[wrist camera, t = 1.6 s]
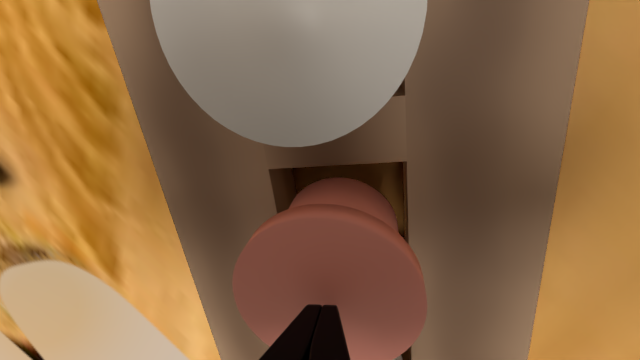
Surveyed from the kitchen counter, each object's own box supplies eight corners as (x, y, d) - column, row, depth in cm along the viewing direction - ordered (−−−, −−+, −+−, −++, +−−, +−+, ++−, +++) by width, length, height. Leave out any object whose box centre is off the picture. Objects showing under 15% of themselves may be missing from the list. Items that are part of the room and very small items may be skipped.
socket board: (561, -161, 10) (629, -234, 7) (497, 367, 19) (516, 424, 16) (133, -62, 13) (66, -87, 10) (252, 351, 22) (234, 396, 19)
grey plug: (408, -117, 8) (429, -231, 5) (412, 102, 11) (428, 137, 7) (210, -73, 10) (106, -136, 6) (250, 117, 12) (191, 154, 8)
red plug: (412, 157, 11) (427, 215, 8) (415, 285, 13) (427, 377, 10) (260, 166, 12) (211, 220, 9) (285, 282, 15) (253, 364, 11)
